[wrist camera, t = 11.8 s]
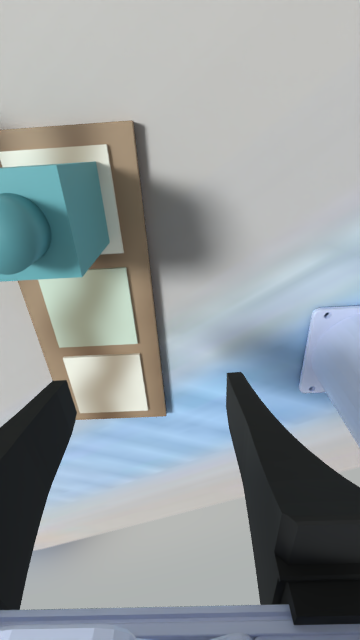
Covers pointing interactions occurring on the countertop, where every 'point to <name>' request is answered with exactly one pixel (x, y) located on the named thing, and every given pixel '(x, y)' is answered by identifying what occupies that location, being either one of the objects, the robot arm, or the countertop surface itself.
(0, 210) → the pawn
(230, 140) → the countertop surface
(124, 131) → the board
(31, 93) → the countertop surface
